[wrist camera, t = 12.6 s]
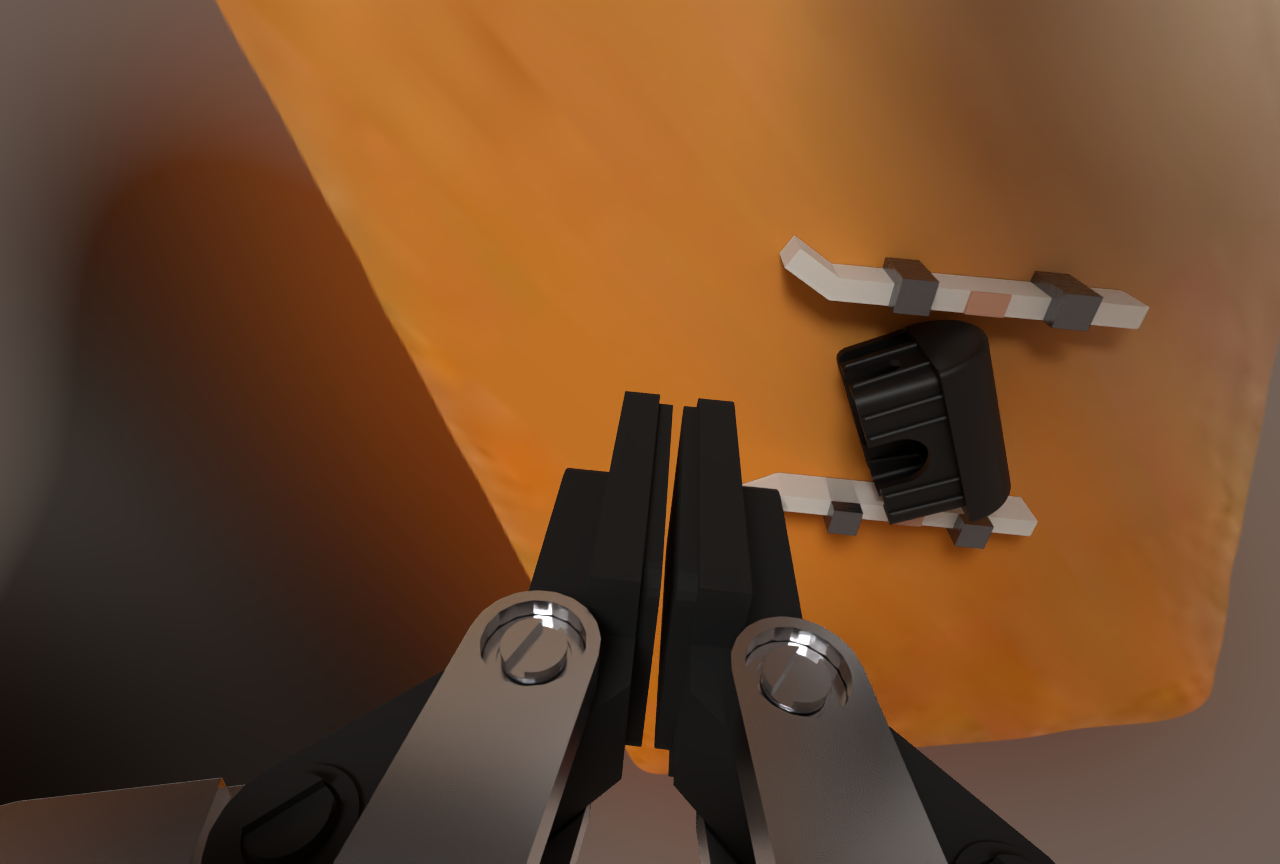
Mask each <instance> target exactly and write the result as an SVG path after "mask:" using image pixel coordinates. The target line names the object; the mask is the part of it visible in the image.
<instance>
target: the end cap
mask: <svg viewBox="0 0 1280 864" xmlns="http://www.w3.org/2000/svg"><path fill="white" fill-rule="evenodd" d="M837 362H838V365H839V369H840V372H841V376H842V379H843V383H844V386H845V390H846V393H847V397H848V400H849V403H850V407H851V410H852V414H853V417H854V421H855V424H856V428H857V431H858V435H859V438H860V442H861V445H862V448H863V452H864V455H865V459H866V462H867V465H868V467H869V469H870V473H871V476H872V479H873V482H874V485H875V487H876V490H877V493H878V495H879V497H880V496H882V499H883V502H884V505H883V507H884V511H885V513H886V516H887V518H888V521H889V524H890V525H892V524H896V523H900V522H904V521H908V520H912V519H916V518H920V517H924V516H928V515H932V514H936V513H940V512H944V511H948V510H952V509H956V508H960V507H961V508H962V510H963V512H964V514H965V515H966V517H967V519H968V521H969V523H971V522H974V521H977V520H981V519H983V518H985V517H987V516H989V515H991V514H992V513H994V512H995V511H997V510H998V509H999V508H1000V507H1001V506H1002V505H1003V504H1004V503H1005V502H1006V500H1007V498H1008V496H1009V494H1010V489H1011V484H1010V476H1009V470H1008V464H1007V457H1006V451H1005V445H1004V438H1003V432H1002V426H1001V419H1000V413H999V407H998V400H997V394H996V388H995V381H994V375H993V369H992V362H991V356H990V350H989V343H988V338H987V336H986V334H985V333H984V331H983V330H981V329H980V328H979V327H977V326H975V325H973V324H970V323H967V322H963V321H956V320H936V321H928V322H922V323H917V324H914V325H910V326H907V327H906V329H901V330H898V331H895V332H892V333H889V334H886V335H883V336H880V337H877V338H874V339H871V340H868V341H864V342H861V343H858V344H855V345H852V346H849V347H846V348H844V349H842V350H840V351H839V353H838V354H837Z"/></svg>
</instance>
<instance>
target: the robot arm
mask: <svg viewBox="0 0 1280 864" xmlns="http://www.w3.org/2000/svg"><path fill="white" fill-rule="evenodd" d="M659 400H660V395H659V394H649V393H639V392H629V391H625V396H624V401H623V406H622V411H621V416H620V421H619V426H618V431H617V436H616V441H615V446H614V451H613V456H612V461H611V466H610V471H609V472H603V471H593V470H583V469H574V468H567V469H566V470H565V473H564V475H563V478H562V482H561V485H560V488H559V492H558V495H557V498H556V502H555V505H554V508H553V512H552V515H551V519H550V522H549V525H548V529H547V532H546V535H545V539H544V542H543V545H542V549H541V552H540V555H539V559H538V562H537V565H536V569H535V572H534V575H533V579H532V582H531V585H530V589H529V591H527V592H520V593H515V594H513V595H510V596H508V597H505V598H502V599H500V600H498V601H496V602H495V603H494V604H492V605H491V606H489V607H488V608H487V609H485V610H484V611H483V612H482V613H481V614H480V615H479V616H478V618H477V619H476V620H475V621H474V623H473V624H472V625H471V627H470V628H469V630H468V632H467V634H466V635H465V637H464V639H463V640H462V642H461V644H460V646H459V647H458V649H457V651H456V653H455V654H454V656H453V658H452V660H451V661H450V663H449V665H448V666H447V668H446V670H444V671H442V672H440V673H439V674H437V675H435V676H433V677H431V678H430V679H428V680H426V681H424V682H422V683H421V684H419V685H417V686H415V687H413V688H412V689H410V690H408V691H406V692H405V693H403V694H401V695H399V696H398V697H396V698H394V699H392V700H390V701H388V702H387V703H385V704H383V705H381V706H379V707H378V708H376V709H374V710H372V711H370V712H368V713H367V714H365V715H363V716H361V717H360V718H358V719H356V720H354V721H353V722H351V723H349V724H347V725H345V726H344V727H342V728H340V729H338V730H336V731H335V732H333V733H331V734H329V735H327V736H326V737H324V738H322V739H320V740H318V741H316V742H315V743H313V744H311V745H309V746H307V747H306V748H304V749H302V750H300V751H298V752H297V753H295V754H293V755H291V756H289V757H288V758H286V759H284V760H283V761H280V762H279V763H277V764H275V765H273V766H271V767H270V768H268V769H267V770H266V771H264V772H263V773H261V774H260V775H258V776H257V777H256V778H254V779H253V780H251V781H250V782H248V783H247V784H246V785H241V786H233V787H226V785H225V784H224V781H223V779H222V778H217V779H208V780H200V781H191V782H182V783H173V784H164V785H156V786H147V787H138V788H130V789H121V790H112V791H104V792H95V793H87V794H78V795H70V796H61V797H52V798H43V799H35V800H27V801H18V802H14V803H10V804H6V805H2V806H0V864H576V862H577V859H578V855H579V852H580V848H581V845H582V841H583V838H584V834H585V830H586V827H587V823H588V820H589V817H590V809H591V803H592V802H593V801H594V800H595V799H597V798H598V797H599V796H601V795H602V794H603V793H604V792H606V791H607V790H608V789H609V788H610V787H612V786H613V785H614V784H615V783H617V782H618V781H619V780H621V777H622V768H623V759H624V749H625V745H630V746H639V747H641V745H642V738H643V729H644V721H645V713H646V705H647V697H648V689H649V680H650V672H651V664H652V656H653V648H654V640H655V631H656V623H657V615H658V607H659V598H660V589H661V578H662V565H663V550H664V535H665V520H666V504H667V489H668V474H669V458H670V443H671V428H672V412H673V405H667V404H659ZM654 747H655V748H657V749H666V750H669V775H668V776H671V777H674V786H675V787H676V788H677V789H678V791H679V792H680V793H681V794H682V795H683V796H684V798H685V799H686V800H687V801H688V802H689V803H690V804H691V806H692V807H693V808H694V809H695V810H696V832H697V839H698V846H699V853H700V861H701V864H1055V863H1054V862H1053V861H1052V860H1051V859H1050V858H1049V857H1048V856H1047V855H1046V854H1044V853H1043V852H1042V851H1041V850H1040V849H1038V848H1037V847H1036V846H1035V845H1033V844H1032V843H1031V842H1030V841H1028V840H1027V839H1026V838H1025V837H1024V836H1022V835H1021V834H1020V833H1019V832H1018V831H1016V830H1015V829H1014V828H1013V827H1011V826H1010V825H1009V824H1008V823H1007V822H1005V821H1004V820H1003V819H1002V818H1000V817H999V816H998V815H997V814H996V813H994V812H993V811H992V810H991V809H989V808H988V807H987V806H986V805H985V804H983V803H982V802H981V801H980V800H978V799H977V798H976V797H975V796H974V795H972V794H971V793H970V792H969V791H967V790H966V789H965V788H964V787H963V786H961V785H960V784H959V783H958V782H956V781H955V780H954V779H953V778H952V777H950V776H949V775H948V774H947V773H945V772H944V771H943V770H942V769H941V768H939V767H938V766H937V765H936V764H934V763H933V762H932V761H931V760H929V759H928V758H927V757H926V756H924V754H922V753H921V752H920V751H919V750H917V749H916V748H915V747H914V746H913V745H911V744H910V743H909V742H908V741H906V740H905V739H904V738H903V737H902V736H900V735H899V734H898V733H897V732H895V731H894V730H893V729H892V728H891V727H889V726H888V724H887V722H886V719H885V717H884V715H883V712H882V710H881V708H880V705H879V703H878V701H877V698H876V696H875V694H874V691H873V689H872V687H871V684H870V682H869V680H868V677H867V675H866V673H865V670H864V668H863V666H862V665H861V663H860V661H859V660H858V658H857V657H856V655H855V653H854V652H853V650H852V649H851V648H850V647H849V646H848V645H846V644H845V643H844V642H843V641H842V640H841V639H840V638H839V637H838V636H837V635H835V634H833V633H832V632H830V631H829V630H827V629H825V628H824V627H822V626H820V625H818V624H815V623H812V622H809V621H806V620H804V619H802V614H801V608H800V602H799V597H798V591H797V586H796V580H795V574H794V569H793V563H792V557H791V552H790V546H789V540H788V535H787V529H786V523H785V518H784V512H783V507H782V501H781V496H780V493H779V491H778V490H777V489H770V488H760V487H750V486H742V477H741V467H740V457H739V447H738V437H737V426H736V416H735V406H734V402H730V401H720V400H710V399H700V398H699V399H698V403H697V407H687V406H684V409H683V416H682V424H681V432H680V440H679V448H678V456H677V464H676V473H675V481H674V489H673V497H672V505H671V513H670V521H669V529H668V538H667V547H666V560H665V576H664V593H663V609H662V626H661V642H660V659H659V675H658V692H657V709H656V725H655V744H654Z"/></svg>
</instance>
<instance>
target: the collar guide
mask: <svg viewBox="0 0 1280 864" xmlns="http://www.w3.org/2000/svg"><path fill="white" fill-rule="evenodd" d="M779 254H780V256H781V259H782V262H783V265H784V267H785V268H786V269H787V270H788V271H790V272H791V273H793V274H794V275H795V276H797V277H798V278H799V279H801V280H802V281H803V282H805V283H806V284H807V285H809V286H810V287H812V288H813V289H814V290H816V291H817V292H818V293H820V294H821V295H822V296H824V297H825V298H826V299H828V300H832V301H843V302H853V303H864V304H875V305H885V306H889V308H890V309H891V311H892V312H893V313H899V314H910V315H920V316H929V313H930V310H938V311H949V312H960V313H964V314H967V315H978V316H988V317H999V318H1004V317H1013V318H1024V319H1034V320H1043V321H1044V322H1045V323H1046V324H1048V325H1049V326H1050V327H1051V328H1059V329H1069V330H1080V331H1088V329H1089V327H1090V325H1098V326H1109V327H1120V328H1130V329H1139V327H1140V325H1141V323H1142V321H1143V319H1144V317H1145V315H1146V313H1147V312H1148V310H1149V308H1150V307H1148V306H1147V305H1145V304H1143V303H1142V302H1140V301H1139V300H1137V299H1135V298H1134V297H1132V296H1131V295H1129V294H1127V293H1126V292H1124V291H1122V290H1113V289H1102V288H1091V287H1087V286H1086V285H1084V284H1083V283H1081V282H1080V281H1078V280H1077V279H1075V278H1074V277H1072V276H1071V275H1069V274H1061V273H1050V272H1039V271H1035V273H1034V275H1033V278H1032V280H1031V282H1026V281H1015V280H1004V279H993V278H983V277H972V276H961V275H950V274H939V273H931V272H930V271H929V270H928V269H927V268H926V267H925V266H924V265H923V264H922V263H921V262H920V261H919V260H908V259H897V258H885V262H884V266H883V268H874V267H863V266H853V265H842V264H832V263H830V262H829V261H828V260H826V259H825V258H824V257H822V256H821V255H820V254H818V253H817V252H816V251H814V250H813V249H812V248H811V247H809V246H808V245H807V244H805V243H804V242H803V241H801V240H800V239H799V238H797V237H796V236H795V235H794V236H793V237H792V238H791V240H790V241H789V242H788V243H787V244H786V246H785V247H784V248H783V249H782V251H781V252H780V253H779ZM742 486H750V487H760V488H770V489H777V490H778V491H779V493H780V496H781V501H782V507H783V511H789V512H799V513H809V514H819V515H823V517H824V521H825V525H826V529H827V533H834V534H844V535H854V536H856V534H857V531H858V528H859V525H860V522H861V519H867V520H877V521H887V522H888V523H889V521H888V518H887V516H886V513H885V511H884V507H883V505H884V502H883V499H882V496H880V497H879V495H878V493H877V490H876V487H875V485H874V482H866V481H856V480H846V479H836V478H826V477H816V476H807V475H797V474H787V473H775V474H772V475H769V476H766V477H763V478H760V479H757V480H754V481H751V482H748V483H745V484H742ZM1037 522H1038V521H1037V520H1036V518H1035V517H1034V515H1033V514H1032V513H1031V511H1030V510H1029V508H1028V507H1027V505H1026V504H1025V502H1024V501H1023V500H1022V498H1021V497H1014V496H1008V498H1007V500H1006V502H1005V503H1004V504H1003V505H1002V506H1001V507H1000V508H999V509H998V510H997V511H995V512H994V513H992V514H991V515H989V516H987V517H985V518H983V519H981V520H977V521H974V522H971V523H969V521H968V519H967V517H966V515H965V514H964V512H963V510H962V508H961V507H960V508H956V509H952V510H948V511H944V512H940V513H936V514H932V515H928V516H924V517H920V518H916V519H912V520H908V521H904V522H900V523H896V524H897V525H907V526H916V527H921V525H926V526H935V527H945V528H946V529H947V531H948V533H949V535H950V537H951V539H952V541H953V543H954V545H955V546H960V547H970V548H980V549H984V547H985V545H986V543H987V541H988V539H989V537H990V535H991V532H994V533H1004V534H1013V535H1023V536H1031V534H1032V532H1033V530H1034V528H1035V526H1036V524H1037Z"/></svg>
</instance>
